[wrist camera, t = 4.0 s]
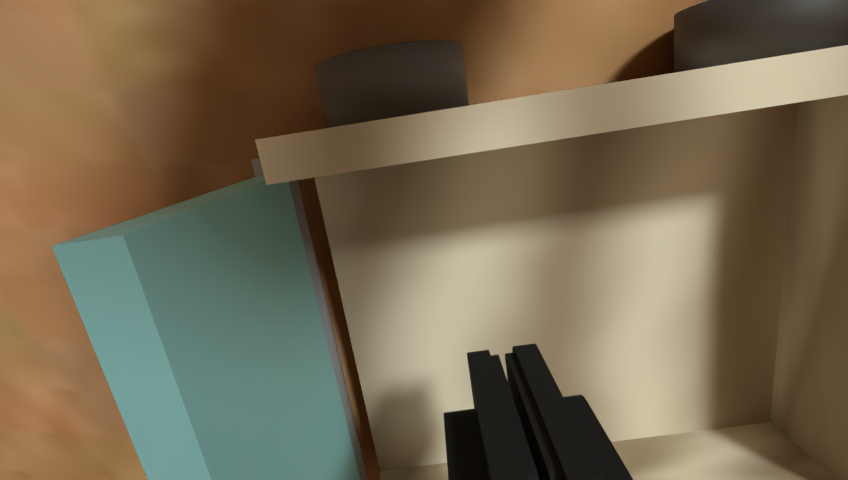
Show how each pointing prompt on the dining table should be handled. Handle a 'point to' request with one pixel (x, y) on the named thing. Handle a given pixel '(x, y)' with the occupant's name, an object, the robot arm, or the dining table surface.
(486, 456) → the robot arm
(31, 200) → the dining table surface
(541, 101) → the cargo bed
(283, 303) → the tailgate
